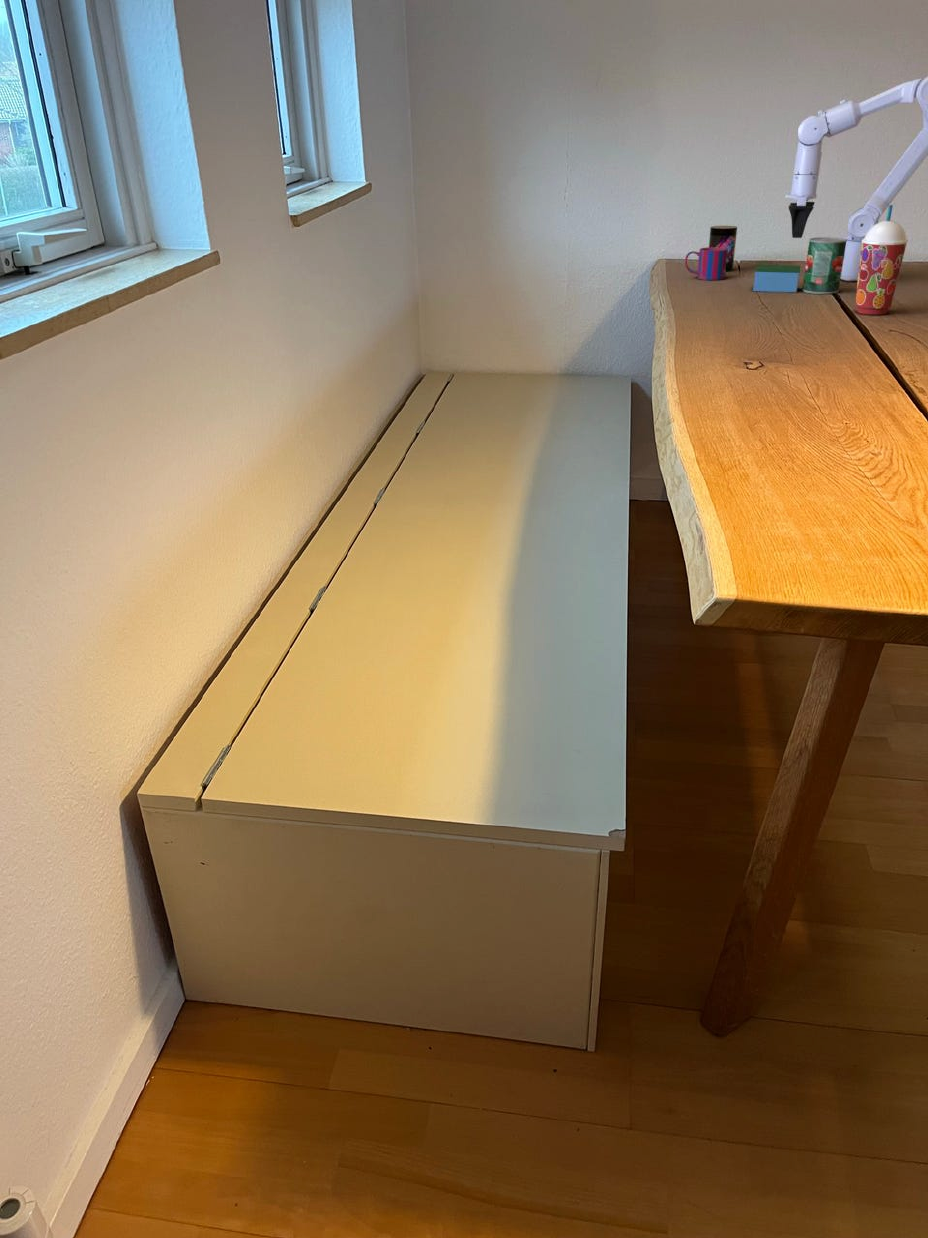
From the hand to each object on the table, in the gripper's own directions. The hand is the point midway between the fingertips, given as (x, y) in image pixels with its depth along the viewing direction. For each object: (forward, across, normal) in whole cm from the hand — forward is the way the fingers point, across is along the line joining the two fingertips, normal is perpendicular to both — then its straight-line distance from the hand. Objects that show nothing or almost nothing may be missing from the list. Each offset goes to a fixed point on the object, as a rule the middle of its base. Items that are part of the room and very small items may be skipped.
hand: (797, 235), depth 226 cm
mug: (+10, +6, -21) cm, 24 cm away
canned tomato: (+10, +20, +7) cm, 23 cm away
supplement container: (+10, -8, -18) cm, 22 cm away
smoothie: (+10, +44, +17) cm, 48 cm away
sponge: (+9, +20, -3) cm, 23 cm away
